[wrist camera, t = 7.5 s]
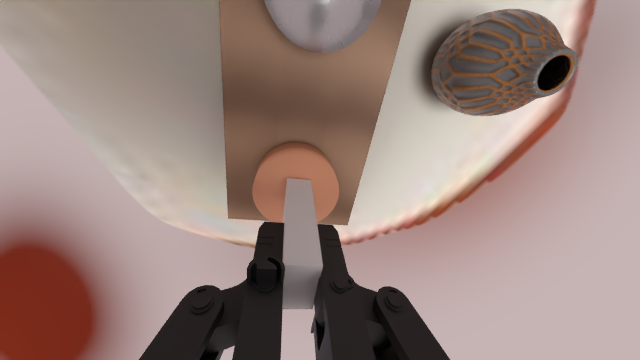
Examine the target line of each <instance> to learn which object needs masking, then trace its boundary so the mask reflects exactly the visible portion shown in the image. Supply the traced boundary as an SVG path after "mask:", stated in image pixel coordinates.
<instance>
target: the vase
mask: <svg viewBox="0 0 640 360" xmlns="http://www.w3.org/2000/svg"><path fill="white" fill-rule="evenodd" d="M577 63H578V59H577V55H576V53H575V52H574V51H573V50H572V49H570V48H568V47H567V46H565V45H564V42H563V40H562V38H561V35H560V33H559V32H558V30H557V28H556V27H555V25H554V24H553V23H552V22H551V21H550V20H548V19H547V18H545V17H544V16H542V15H539V14H537V13H534V12H531V11H527V10H521V9H504V10H497V11H493V12H489V13H486V14H483V15H480V16H477V17H475V18H473V19H471V20H469V21H467V22H466V23H464V24H463V25H461V26H460V27H458V28H457V29H456V30H455V31H453V32H452V33H451V34H450V35H449V36H448V37H447V39H446V40H445V41H444V42H443V43H442V45H441V46H440V48H439V50H438V51H437V53H436V56H435V58H434V61H433V65H432V70H431V79H432V85H433V88H434V90H435V92H436V94H437V96H438V97H439V98H440V100H441V101H442V102H443V103H444V104H446V105H447V106H448V107H450V108H452V109H454V110H456V111H458V112H461V113H464V114H467V115H473V116H492V115H499V114H504V113H507V112H510V111H513V110H515V109H518V108H520V107H522V106H524V105H526V104H528V103H529V102H531V101H533V100H535V99H537V98H541V97H546V96H549V95H552V94H554V93H556V92H558V91H559V90H561V89H562V88H563V87H564V86H565V85H566V84H567V83H568V82H569V81H570V80H571V78H572V77H573V75H574V73H575V71H576V68H577Z"/></svg>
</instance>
